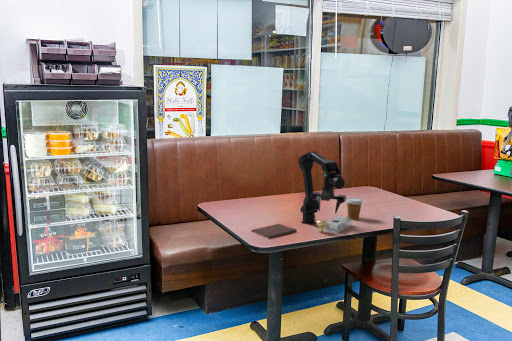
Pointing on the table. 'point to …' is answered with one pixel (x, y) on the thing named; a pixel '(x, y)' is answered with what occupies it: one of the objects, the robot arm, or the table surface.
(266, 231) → the notebook
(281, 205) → the table surface
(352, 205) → the disposable coffee cup
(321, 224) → the brass pin
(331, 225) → the grey white block
